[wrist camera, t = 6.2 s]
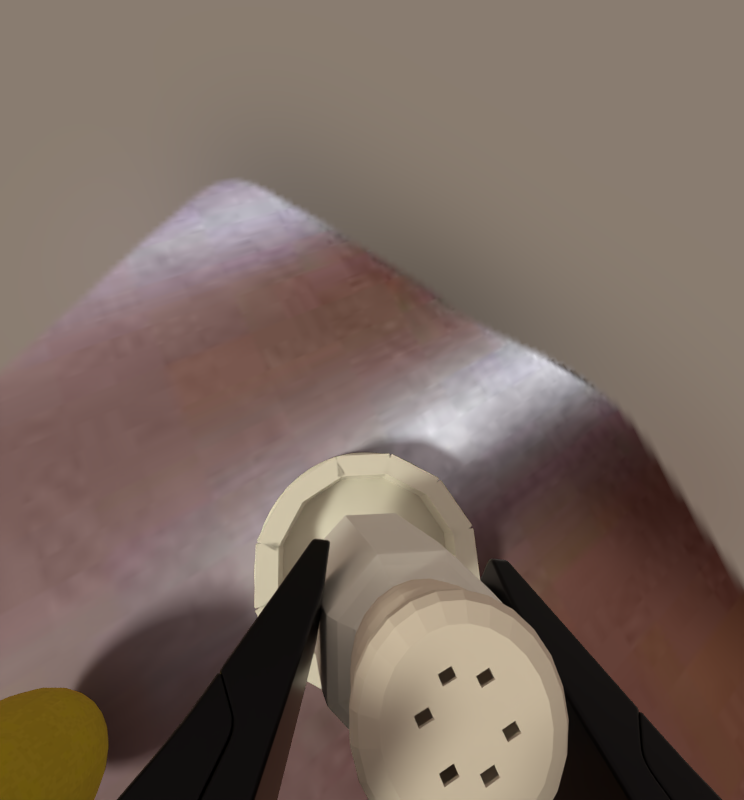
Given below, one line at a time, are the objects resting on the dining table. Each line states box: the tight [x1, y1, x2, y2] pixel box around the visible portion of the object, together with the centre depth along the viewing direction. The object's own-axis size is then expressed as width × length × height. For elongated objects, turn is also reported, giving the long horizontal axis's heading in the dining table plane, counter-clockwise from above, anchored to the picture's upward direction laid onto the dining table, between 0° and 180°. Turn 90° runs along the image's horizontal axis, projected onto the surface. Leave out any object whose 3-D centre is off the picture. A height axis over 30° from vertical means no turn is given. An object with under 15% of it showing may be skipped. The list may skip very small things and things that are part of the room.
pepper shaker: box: [315, 513, 569, 800], centre depth 10 cm, size 5×5×11 cm
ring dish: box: [254, 452, 480, 689], centre depth 18 cm, size 11×11×2 cm
